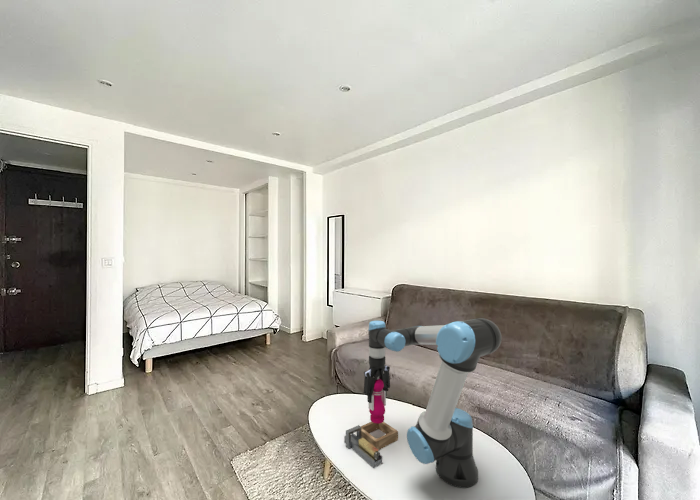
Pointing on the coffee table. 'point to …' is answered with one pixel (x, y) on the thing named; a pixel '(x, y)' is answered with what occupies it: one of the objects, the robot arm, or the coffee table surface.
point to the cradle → (383, 440)
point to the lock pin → (369, 449)
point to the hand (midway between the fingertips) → (377, 406)
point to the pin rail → (353, 443)
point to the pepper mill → (378, 403)
